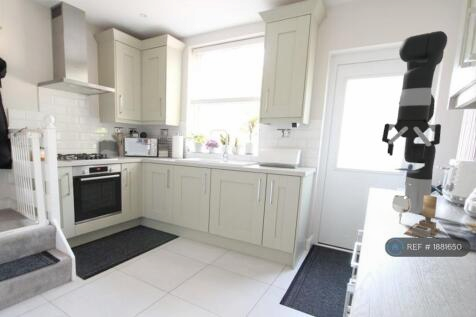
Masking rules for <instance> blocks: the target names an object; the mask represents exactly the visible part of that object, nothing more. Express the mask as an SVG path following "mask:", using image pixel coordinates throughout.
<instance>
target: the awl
mask: <svg viewBox="0 0 476 317" xmlns="http://www.w3.org/2000/svg"><path fill="white" fill-rule="evenodd" d="M437 201H438V197H437V196H434V195H431V196H429V195H424V199H423V209H422V215H421V216H422V217H423V218H424V220H425V222H426V223H430V224H431V221H432V219H435V218H436V212H437V211H436V210H437Z"/></svg>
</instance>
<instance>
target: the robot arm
mask: <svg viewBox="0 0 476 317" xmlns="http://www.w3.org/2000/svg"><path fill="white" fill-rule="evenodd" d="M447 44H448V36H447V34H446V33H445V32H444V31H443V30H437V31H432V32H427V33H421V34H418V35H417V34H416V35H411V36H409V37H407V38H405V39H404V40H403V42H402V43H401V44H400V46H399V51H398V52H399V58H400V60H401V61H402V62H404V63H406V71H405V72H404V74H403V78H402V89H401V93H400V96H399V101H398V111H397V119H396V122H395V124H393V123H392V124H391V123H385V124H384V128H383V132H382V133H383V134H382V139H381V141H382V143H386V144H387V155H388V154H389V156H393V152H394V146H395V145H394V142H396V140H398V139H399V138H400V137H402V138H405V143H404V144H405V146H404V155H403V156H404V161H405V162H407V163H411V164H423V166H422V167H420V168H417V169H416V168H415V169H412V170H408V171H407V172H406V176H405V190H404V196H406V197H409V198H410V202H411V208H410V211H409V212H408V213H411V214H415V215H420V216H422V209H423V199H424V195H429V196H432V184H433V174H434V173H433V172H434V164H435V158H436V153H437V150H436V146H437V145H439V144H440V142H441V130H442V125H441V124H440V123H437V124H429V122H430V120H431V119H432V118H433V116H434V113H435V103H436V102H435V98H434V95H433V94H432V87H433V81H434V75H435V72H436V67H437V66H439V64H441V62H443V58H444V51H445V49H446V46H447ZM393 128H394V129H395V131H396V132H397V133H396V134H394V136H393V137H391V138H389V137H388V136H389V132H390V131H392V130H393ZM428 129H430V130H431V132H433V134H434V135H433V136H434V137H433V140H429V139H428V138H427V136H426V135H425V134H424V133H425V132H426V131H427V130H428ZM417 138H419V139H421V141H422V142H423V143H419V142H418V143H417V142H416V143H415V140H416V139H417Z"/></svg>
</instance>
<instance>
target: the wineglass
mask: <svg viewBox="0 0 476 317" xmlns="http://www.w3.org/2000/svg"><path fill="white" fill-rule="evenodd" d="M391 206H392V209H393V211H395V212H397V213H399V214H398V219H399V221H398V224H402V223H401V222H402V221H401V220H402V217H403V214H406V213H410V212H409V211H410V208H411V202H410V198H409V197H406V196H405V195H399V194H397V195H395V194H394V196H393V198H392V203H391Z"/></svg>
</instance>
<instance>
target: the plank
mask: <svg viewBox="0 0 476 317" xmlns="http://www.w3.org/2000/svg"><path fill="white" fill-rule="evenodd" d="M440 229H441V228H438V227H437V222H435V221H432V220H431V224H430V223H426V222H425V219H424V218H423V219H420V220H419V221H418V223H417V222H415V223H414V224H413V225H412V226H410V228H409V229H407V230H406V231H405V232H404V233H403V235H404V236H405V235H406V236H410V237H413V238H416V237H418V238H417V239H419V238H427V237H433V238H434V237H435V236H436V235H437V233H439V231H440Z"/></svg>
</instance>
